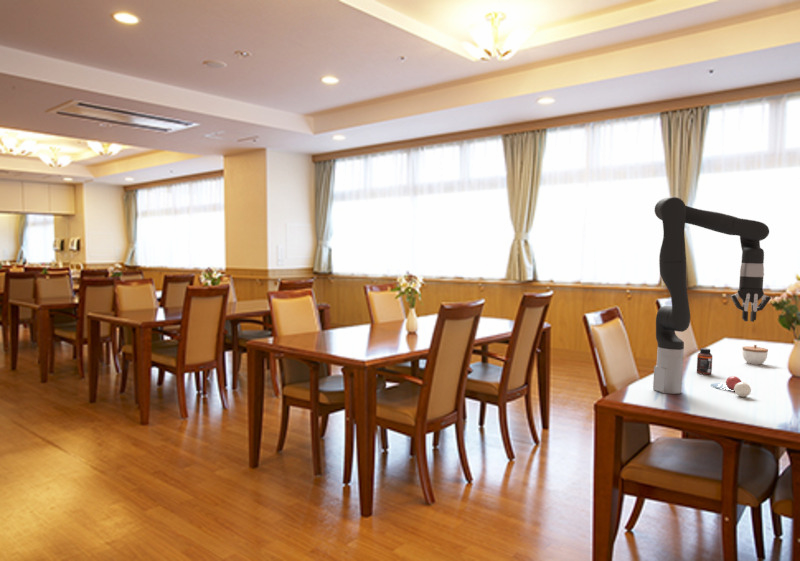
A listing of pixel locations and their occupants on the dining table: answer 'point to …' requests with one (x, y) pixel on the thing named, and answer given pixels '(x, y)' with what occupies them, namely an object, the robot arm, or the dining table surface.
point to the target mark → (717, 385)
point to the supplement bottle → (704, 362)
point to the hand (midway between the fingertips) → (748, 321)
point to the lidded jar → (754, 354)
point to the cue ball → (742, 389)
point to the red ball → (732, 382)
